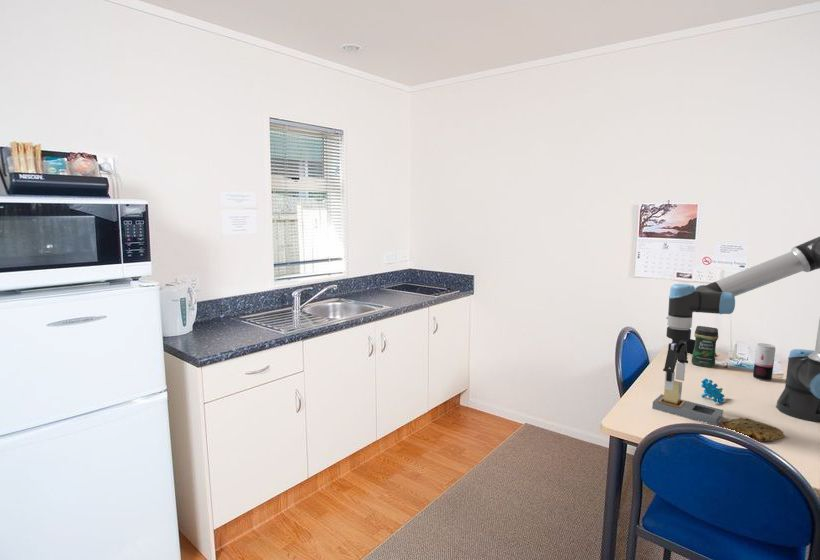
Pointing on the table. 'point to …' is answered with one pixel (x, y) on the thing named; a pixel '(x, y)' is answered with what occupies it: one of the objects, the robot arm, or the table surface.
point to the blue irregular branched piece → (712, 391)
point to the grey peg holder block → (690, 410)
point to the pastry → (754, 429)
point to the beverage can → (764, 362)
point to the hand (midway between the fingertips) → (674, 384)
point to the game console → (691, 346)
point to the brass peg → (673, 394)
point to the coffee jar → (705, 346)
